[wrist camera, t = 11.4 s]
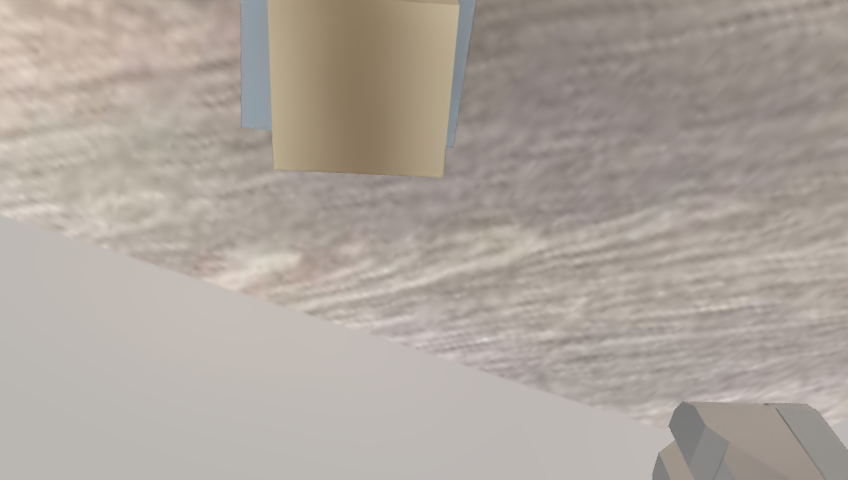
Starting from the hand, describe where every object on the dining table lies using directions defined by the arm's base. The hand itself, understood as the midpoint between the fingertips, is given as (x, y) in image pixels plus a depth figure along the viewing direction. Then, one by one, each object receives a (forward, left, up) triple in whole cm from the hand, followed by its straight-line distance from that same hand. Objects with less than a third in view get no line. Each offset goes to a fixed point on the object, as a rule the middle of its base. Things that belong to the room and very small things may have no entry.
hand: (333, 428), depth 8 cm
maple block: (0, 0, -19) cm, 19 cm away
